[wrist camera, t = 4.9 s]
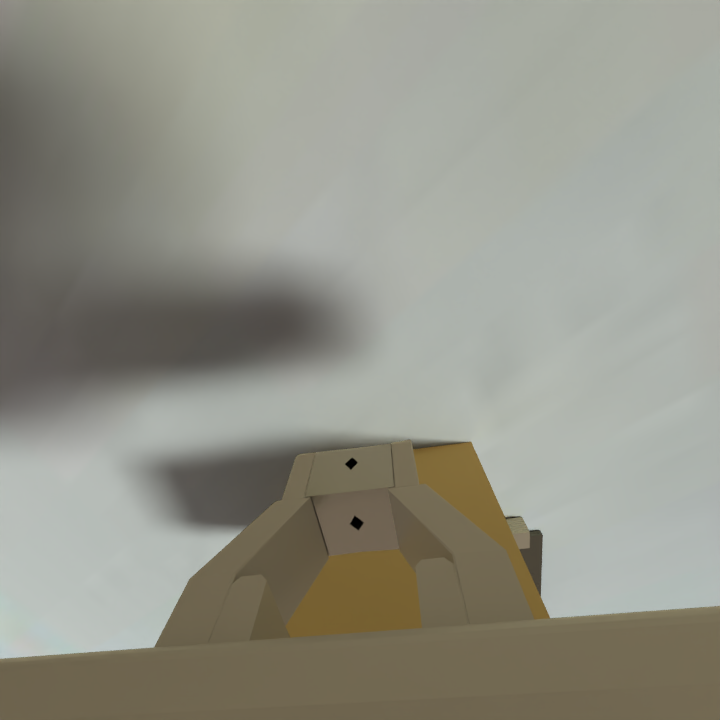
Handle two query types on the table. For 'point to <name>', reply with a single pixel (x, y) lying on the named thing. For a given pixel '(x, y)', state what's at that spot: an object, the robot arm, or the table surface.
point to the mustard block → (392, 571)
